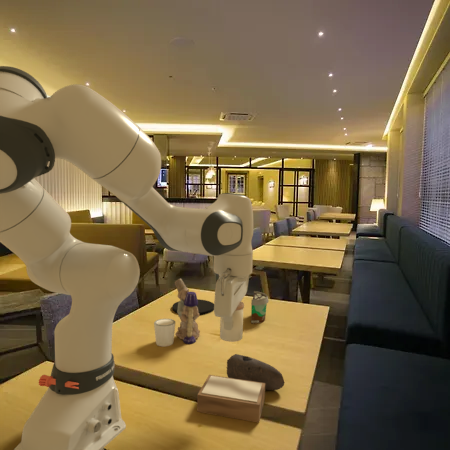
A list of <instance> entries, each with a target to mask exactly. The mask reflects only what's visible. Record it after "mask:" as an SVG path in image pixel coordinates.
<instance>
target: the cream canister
mask: <svg viewBox="0 0 450 450" xmlns="http://www.w3.org/2000/svg"><path fill="white" fill-rule="evenodd" d="M244 309H245V302H243V301H241V302H240V304H239V305H238V307H237V308H236V310H235V311H234V313H233V328H232V330H225V329H224V320H223V317H220V322H219V323H220V325H219V326H220V327H219V329H220V331H219V338H220V339H221V340H222V341H225V342H229V343H230V342H234V343H235V342H239V341H241V340H242V339H243V331H244V329H243V327H244V325H243V324H244Z"/></svg>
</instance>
